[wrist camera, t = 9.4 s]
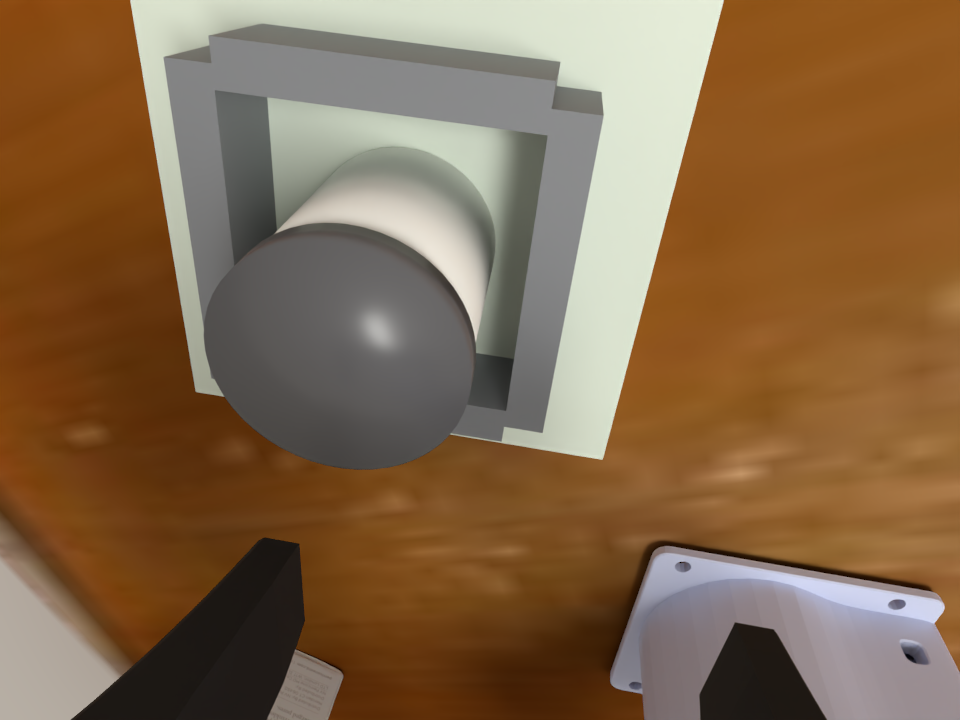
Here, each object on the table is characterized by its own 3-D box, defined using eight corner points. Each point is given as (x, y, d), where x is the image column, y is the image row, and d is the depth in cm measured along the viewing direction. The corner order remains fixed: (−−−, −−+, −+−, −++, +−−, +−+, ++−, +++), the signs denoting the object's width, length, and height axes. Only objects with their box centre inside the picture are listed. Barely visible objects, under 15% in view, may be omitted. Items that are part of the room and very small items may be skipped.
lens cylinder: (520, 170, 16) (498, 280, 11) (478, 341, 19) (445, 493, 14) (317, 120, 16) (198, 209, 11) (304, 300, 18) (207, 437, 13)
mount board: (726, -33, 14) (760, -29, 11) (602, 447, 21) (604, 519, 18) (129, -103, 14) (28, -115, 12) (205, 381, 21) (151, 441, 19)
